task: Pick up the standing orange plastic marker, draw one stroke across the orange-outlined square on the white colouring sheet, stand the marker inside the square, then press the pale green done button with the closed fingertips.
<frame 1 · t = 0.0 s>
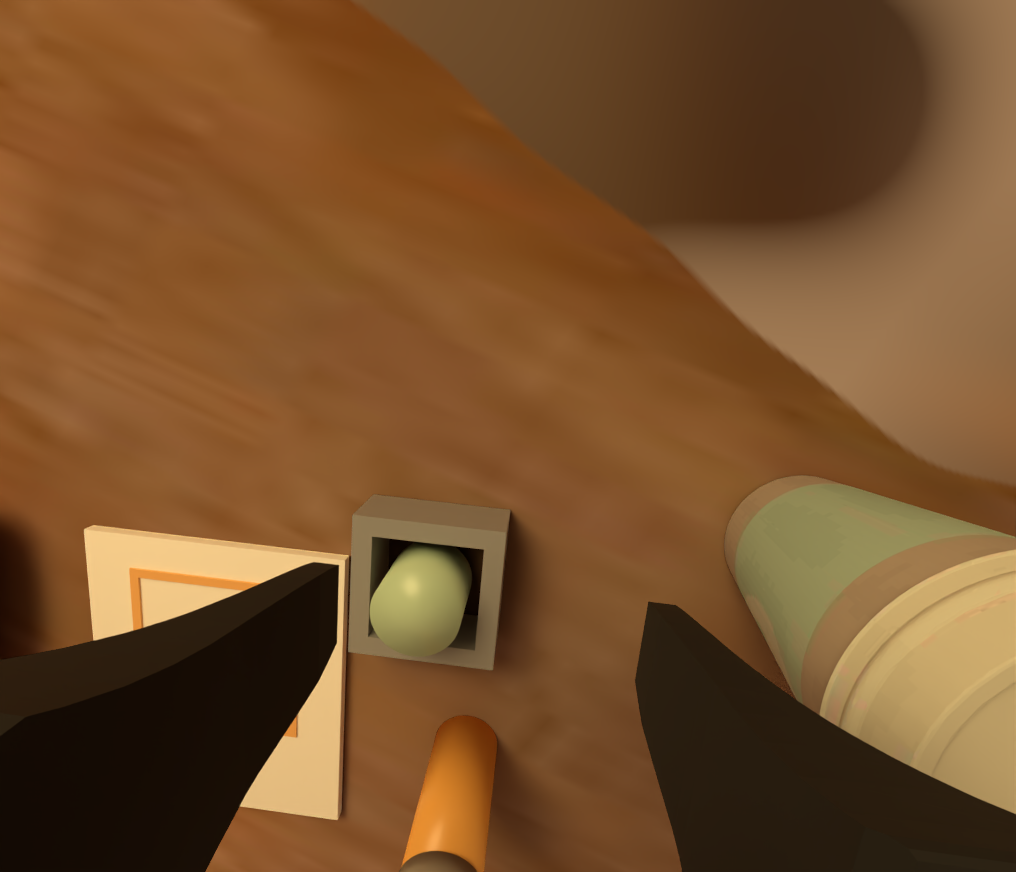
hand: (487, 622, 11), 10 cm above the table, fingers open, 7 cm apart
sheet: (223, 674, 24), on the table
marker: (466, 742, 24), on the table
coffee cup: (792, 539, 21), on the table
button housing: (437, 565, 22), on the table
done button: (424, 594, 20), point 2 cm above the table, slide at 0.0 cm
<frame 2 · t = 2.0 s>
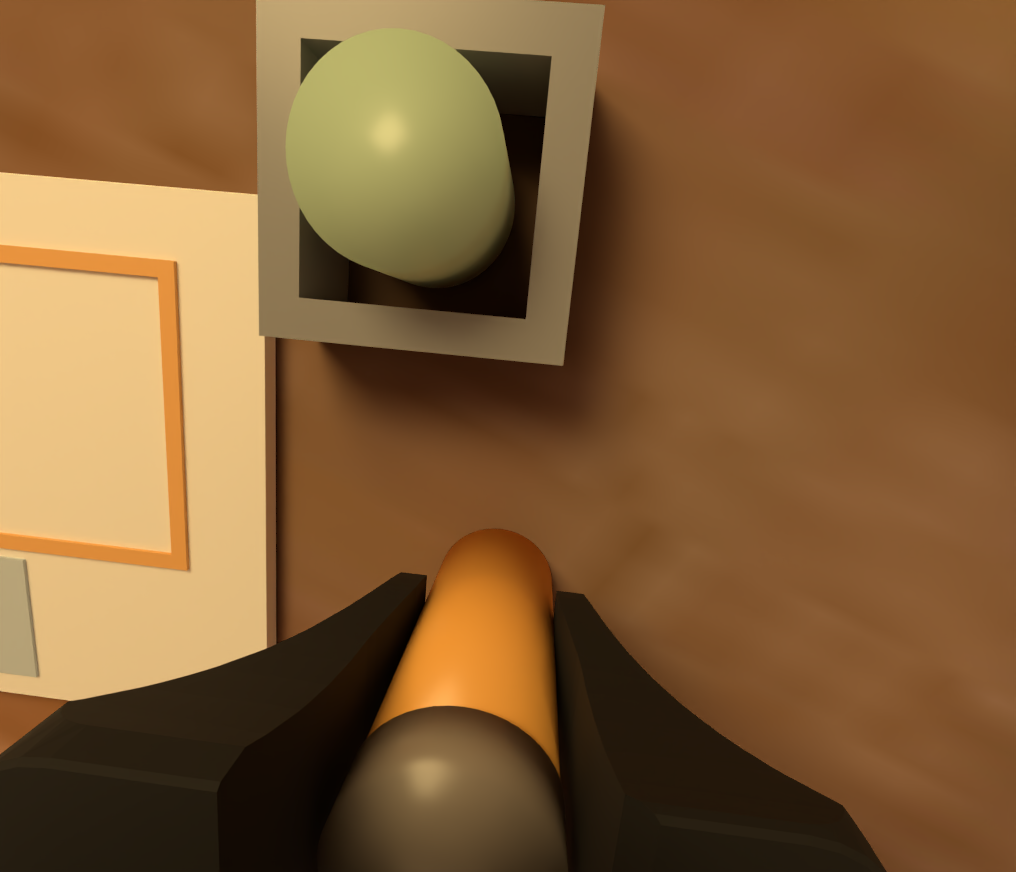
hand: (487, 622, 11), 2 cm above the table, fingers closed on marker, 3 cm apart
sheet: (58, 461, 13), on the table
marker: (495, 581, 13), on the table, touching gripper
button housing: (443, 215, 12), on the table
done button: (417, 184, 9), point 2 cm above the table, slide at 0.0 cm
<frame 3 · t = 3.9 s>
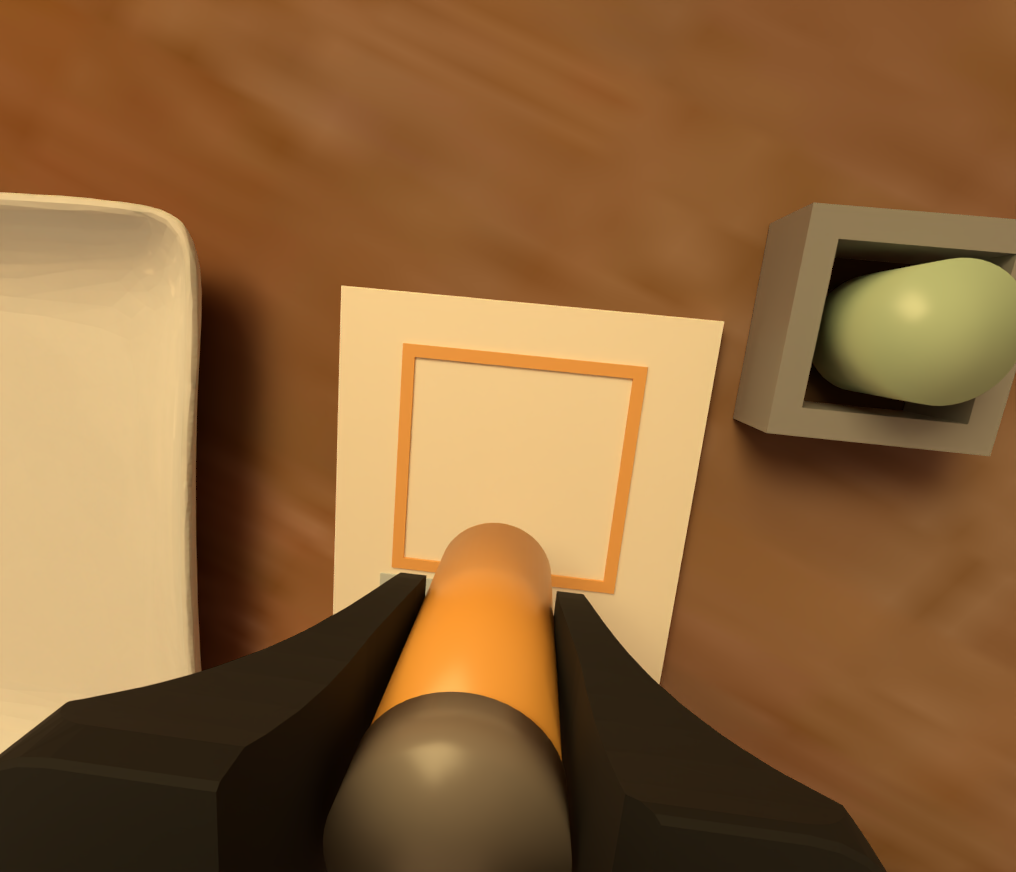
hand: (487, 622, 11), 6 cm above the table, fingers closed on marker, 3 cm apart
sheet: (509, 509, 18), on the table
marker: (495, 575, 13), point 4 cm above the table, touching gripper
button housing: (848, 334, 16), on the table
done button: (905, 334, 13), point 2 cm above the table, slide at 0.0 cm
when the fingers open (3 cm above the table, at t = 6.0 s): marker stays where it is, resting on sheet.
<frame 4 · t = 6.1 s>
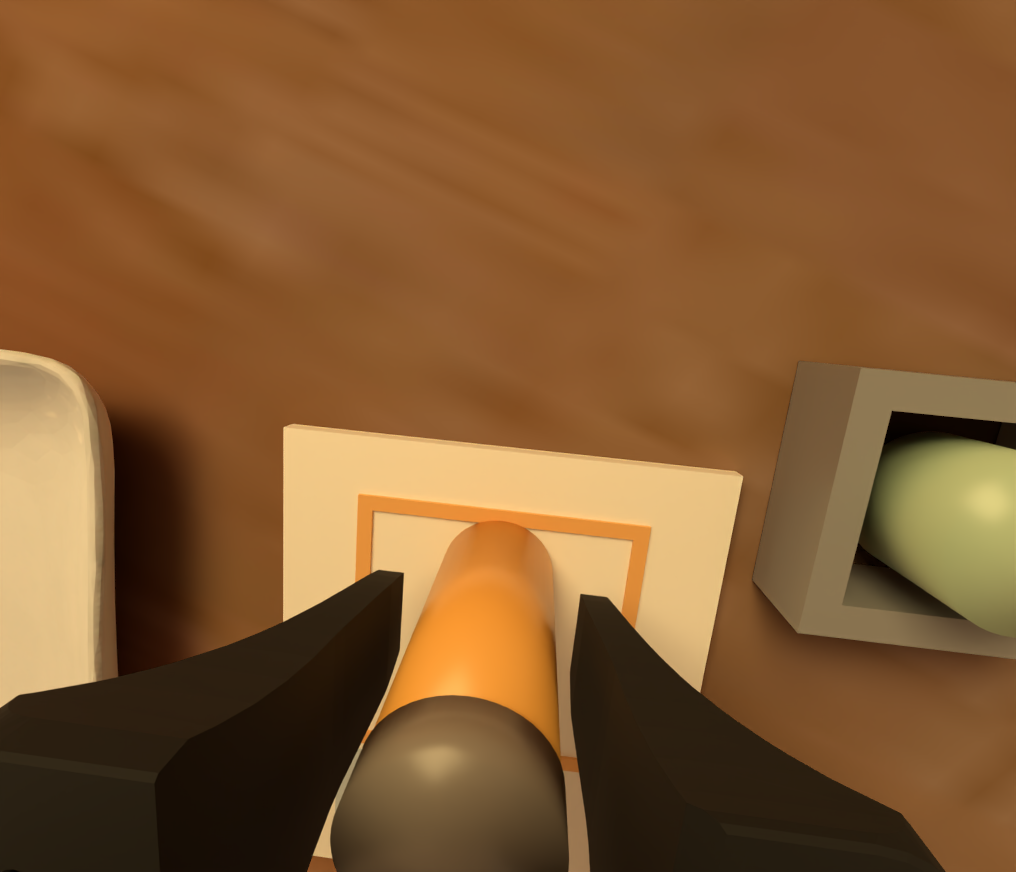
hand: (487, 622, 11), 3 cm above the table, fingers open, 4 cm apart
sheet: (487, 674, 15), on the table
marker: (497, 572, 14), point 1 cm above the table, touching sheet
button housing: (891, 488, 13), on the table
done button: (972, 523, 11), point 2 cm above the table, slide at 0.0 cm
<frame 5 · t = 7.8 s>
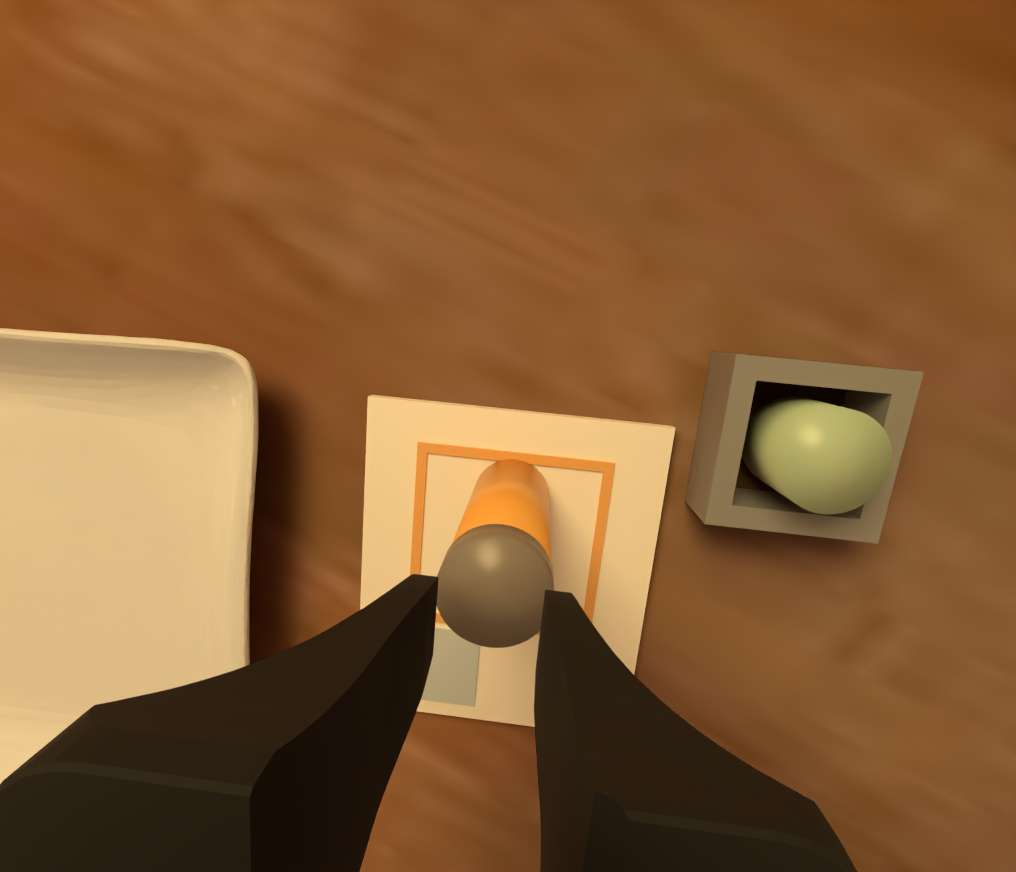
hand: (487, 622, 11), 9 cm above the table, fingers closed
sheet: (503, 571, 21), on the table
marker: (511, 495, 20), point 1 cm above the table, touching sheet
button housing: (775, 436, 19), on the table
salad plate: (74, 554, 23), on the table
done button: (809, 451, 17), point 2 cm above the table, slide at 0.0 cm
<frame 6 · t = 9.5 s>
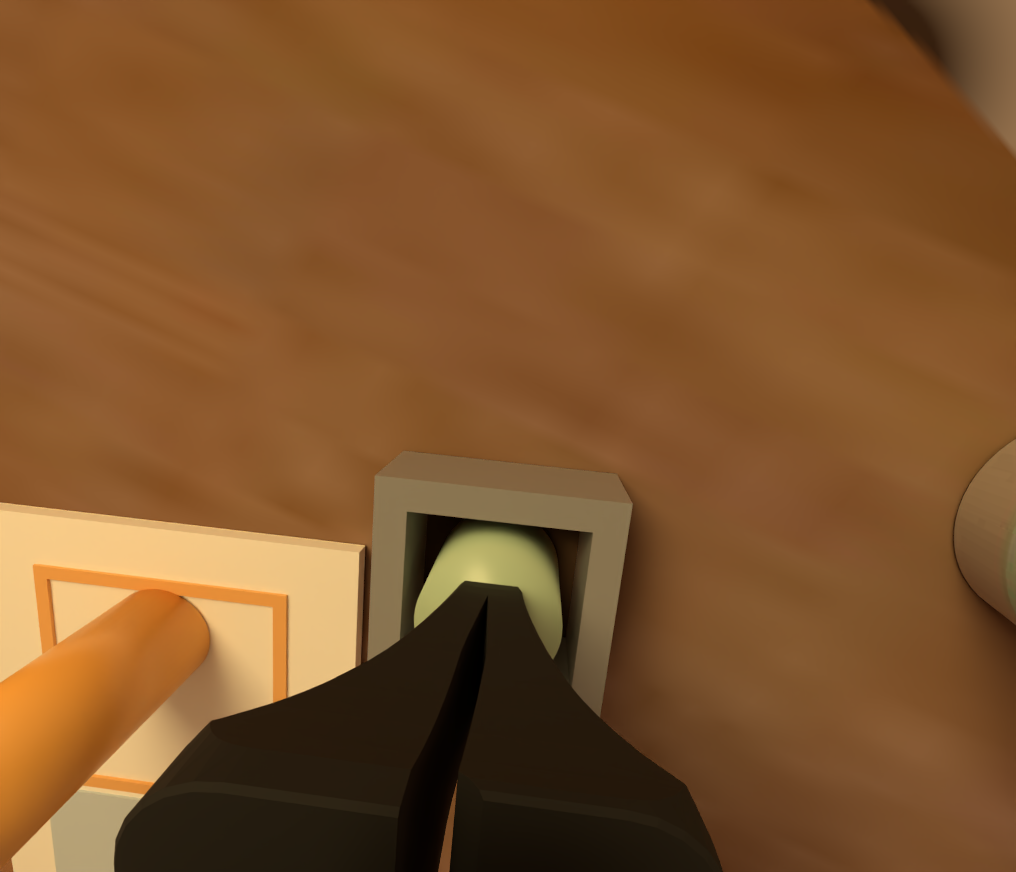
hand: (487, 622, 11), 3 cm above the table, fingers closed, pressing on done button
sheet: (179, 721, 17), on the table
marker: (162, 633, 15), point 1 cm above the table, touching sheet
button housing: (499, 561, 15), on the table
done button: (493, 592, 13), point 2 cm above the table, slide at 0.7 cm, touching gripper
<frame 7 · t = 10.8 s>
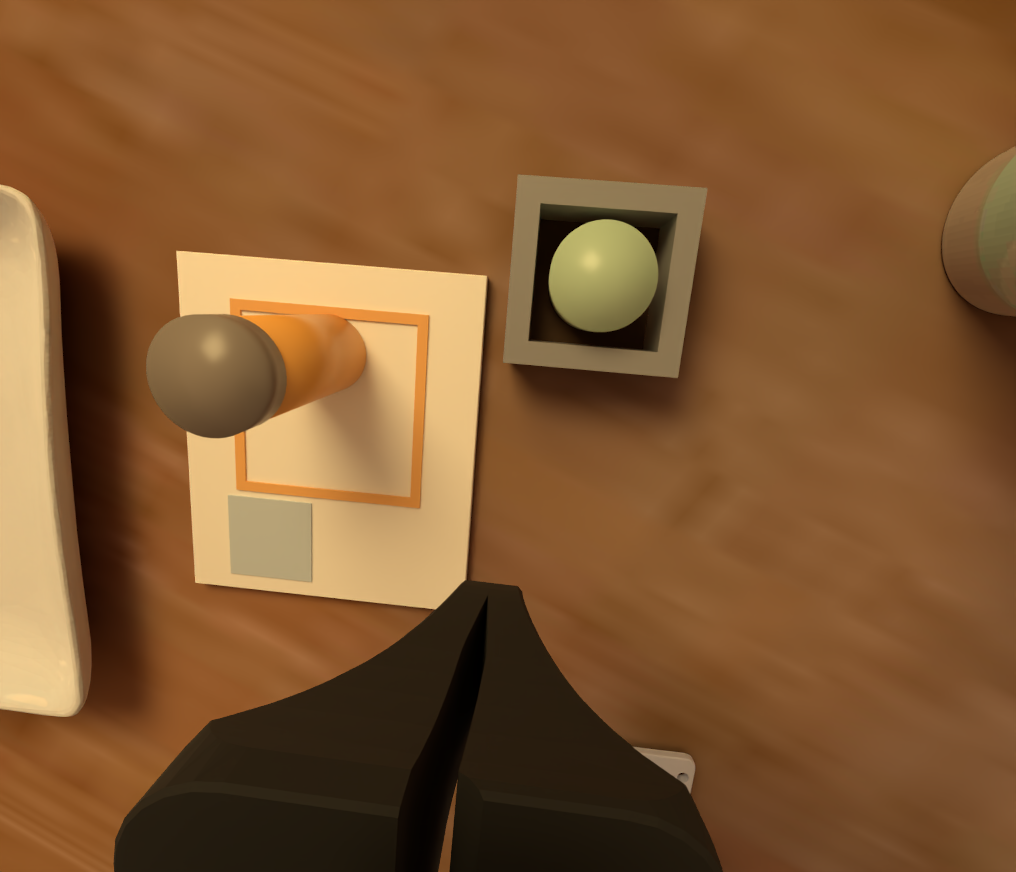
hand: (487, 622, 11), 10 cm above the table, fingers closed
sheet: (333, 439, 21), on the table
marker: (328, 353, 20), point 1 cm above the table, touching sheet
button housing: (592, 285, 19), on the table
done button: (598, 281, 17), point 2 cm above the table, slide at 0.7 cm
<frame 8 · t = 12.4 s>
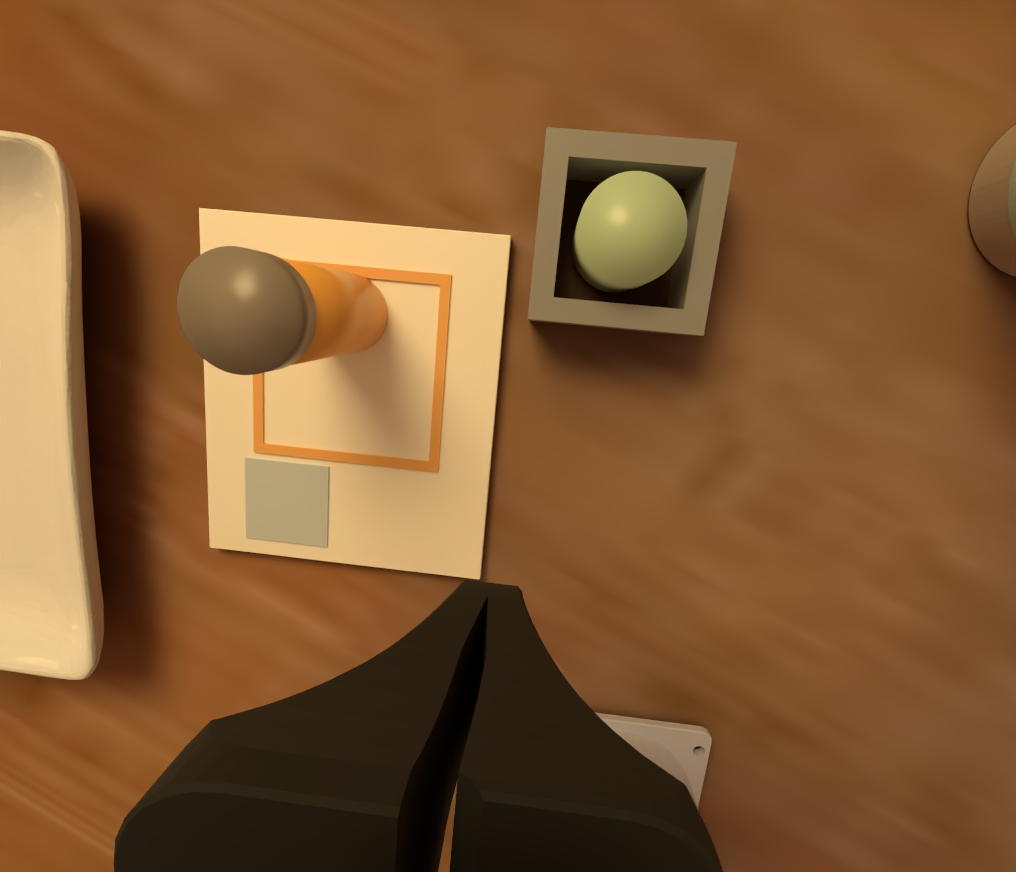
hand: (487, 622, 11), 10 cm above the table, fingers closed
sheet: (352, 402, 21), on the table
marker: (349, 313, 20), point 1 cm above the table, touching sheet
button housing: (616, 247, 19), on the table
done button: (624, 238, 17), point 2 cm above the table, slide at 0.7 cm
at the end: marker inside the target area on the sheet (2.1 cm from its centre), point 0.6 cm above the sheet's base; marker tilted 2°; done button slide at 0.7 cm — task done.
